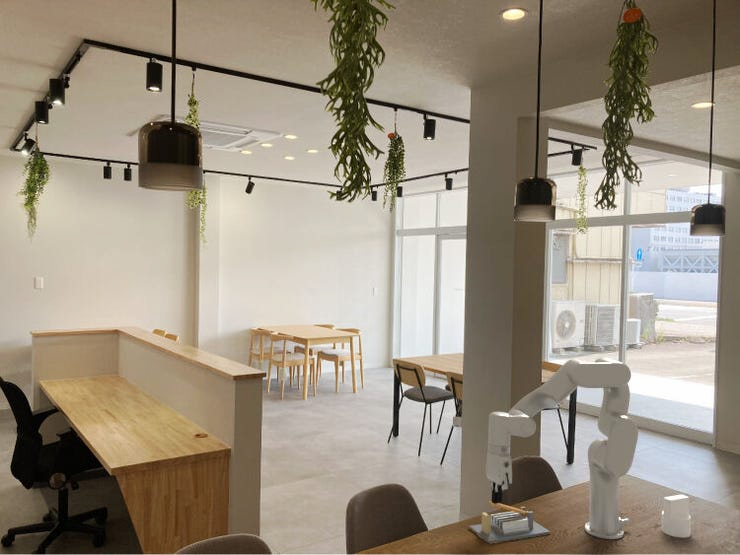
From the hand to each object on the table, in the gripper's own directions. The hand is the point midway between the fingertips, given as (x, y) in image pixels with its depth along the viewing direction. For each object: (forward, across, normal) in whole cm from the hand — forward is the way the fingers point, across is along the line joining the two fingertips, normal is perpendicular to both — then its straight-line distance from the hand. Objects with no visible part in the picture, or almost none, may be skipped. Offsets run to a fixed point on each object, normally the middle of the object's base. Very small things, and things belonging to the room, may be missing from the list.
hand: (496, 502), depth 204 cm
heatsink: (+10, 0, -5) cm, 12 cm away
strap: (+3, 0, -5) cm, 6 cm away
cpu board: (+10, 0, -5) cm, 12 cm away
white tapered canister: (+9, -19, -60) cm, 64 cm away
